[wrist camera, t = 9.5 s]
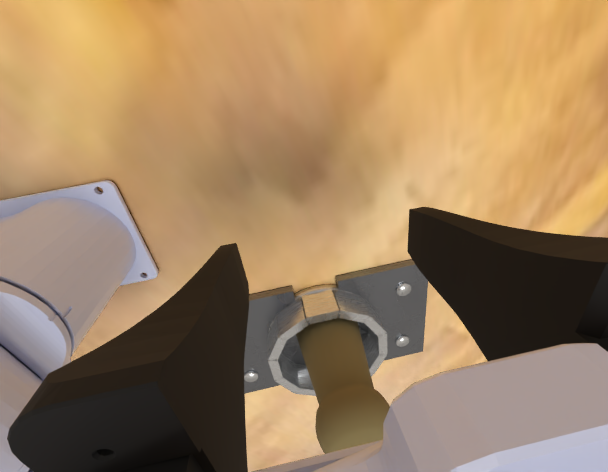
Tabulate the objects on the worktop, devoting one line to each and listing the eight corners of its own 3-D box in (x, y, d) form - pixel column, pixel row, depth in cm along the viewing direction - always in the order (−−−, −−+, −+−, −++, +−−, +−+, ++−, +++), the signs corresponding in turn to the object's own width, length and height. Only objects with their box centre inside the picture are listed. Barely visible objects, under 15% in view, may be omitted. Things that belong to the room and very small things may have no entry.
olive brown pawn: (357, 338, 29) (407, 466, 19) (298, 350, 28) (319, 487, 19) (355, 292, 26) (413, 415, 16) (289, 304, 25) (309, 439, 16)
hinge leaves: (235, 388, 31) (232, 422, 28) (197, 306, 25) (189, 337, 22) (419, 345, 32) (436, 373, 29) (424, 256, 26) (447, 279, 23)
